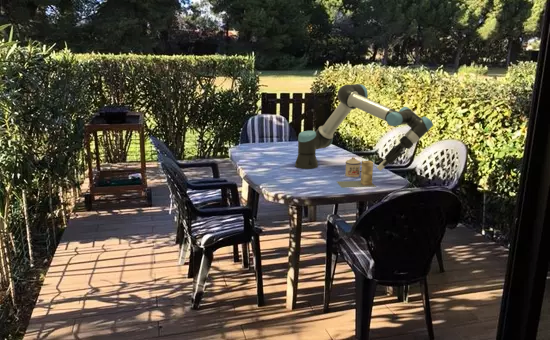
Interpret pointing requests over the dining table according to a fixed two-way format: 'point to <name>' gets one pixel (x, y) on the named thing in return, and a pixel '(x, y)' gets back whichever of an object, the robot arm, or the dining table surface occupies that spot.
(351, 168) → the teacup with lid
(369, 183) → the birch block
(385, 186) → the dining table surface
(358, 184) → the mat
